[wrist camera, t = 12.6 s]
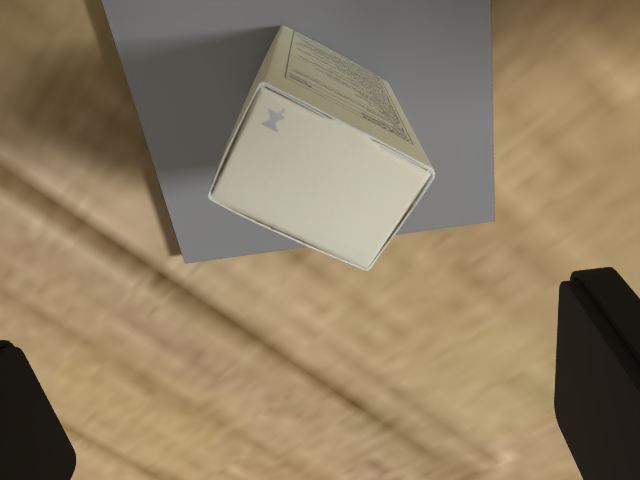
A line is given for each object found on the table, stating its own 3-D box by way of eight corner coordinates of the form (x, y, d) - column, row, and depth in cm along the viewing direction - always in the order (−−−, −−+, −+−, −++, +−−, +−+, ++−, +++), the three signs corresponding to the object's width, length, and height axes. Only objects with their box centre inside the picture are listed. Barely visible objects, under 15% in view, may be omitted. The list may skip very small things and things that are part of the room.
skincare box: (244, 101, 28) (192, 197, 18) (281, 20, 27) (249, 72, 16) (354, 158, 30) (369, 280, 19) (397, 85, 28) (441, 173, 17)
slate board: (481, -109, 25) (488, -111, 24) (489, 212, 32) (494, 221, 31) (99, -37, 27) (90, -36, 26) (189, 253, 34) (184, 263, 33)
